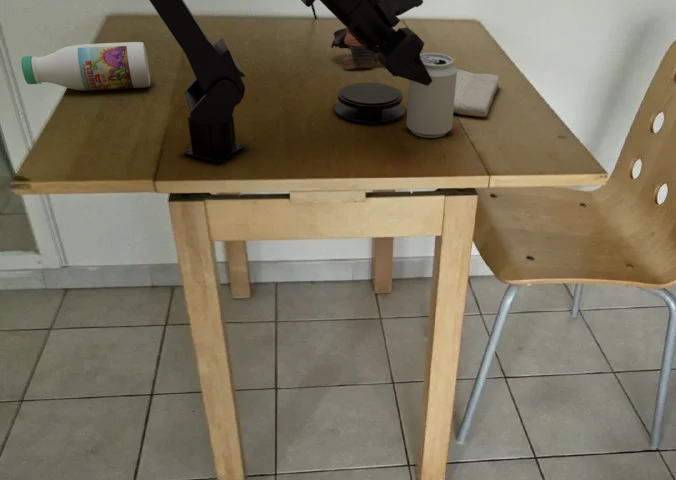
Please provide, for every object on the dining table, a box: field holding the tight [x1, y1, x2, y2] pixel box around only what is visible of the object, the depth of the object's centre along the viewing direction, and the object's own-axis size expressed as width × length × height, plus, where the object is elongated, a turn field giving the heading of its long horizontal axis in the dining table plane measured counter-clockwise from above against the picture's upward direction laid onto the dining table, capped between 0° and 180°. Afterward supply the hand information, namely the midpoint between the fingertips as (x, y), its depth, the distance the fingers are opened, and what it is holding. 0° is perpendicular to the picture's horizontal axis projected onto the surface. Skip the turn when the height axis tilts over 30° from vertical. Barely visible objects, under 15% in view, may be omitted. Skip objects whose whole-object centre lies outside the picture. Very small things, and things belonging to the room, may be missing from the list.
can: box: [406, 52, 458, 139], centre depth 114 cm, size 8×8×12 cm
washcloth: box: [453, 69, 501, 118], centre depth 129 cm, size 12×18×3 cm, turn 167°
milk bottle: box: [21, 41, 151, 91], centre depth 124 cm, size 8×8×20 cm
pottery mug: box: [330, 27, 379, 71], centre depth 143 cm, size 12×10×8 cm
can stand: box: [334, 82, 406, 126], centre depth 122 cm, size 12×12×3 cm
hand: (418, 73), depth 111 cm, fingers open, 9 cm apart
